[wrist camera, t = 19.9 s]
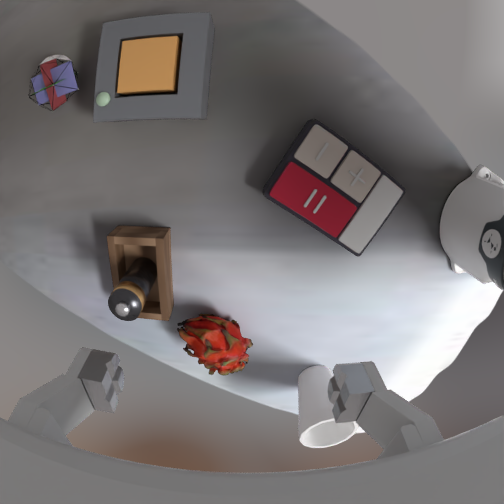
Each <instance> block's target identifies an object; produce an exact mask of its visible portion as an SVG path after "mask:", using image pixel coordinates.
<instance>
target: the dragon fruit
mask: <svg viewBox="0 0 504 504" xmlns="http://www.w3.org/2000/svg"><path fill="white" fill-rule="evenodd" d="M181 325H183V327H185V330H186V331H185V330H184V328H183V327H181V328H180V329H179V328H178V332H179V335H180V337H181V338H182V339H183V340H184V341H186V342H187V345H186V348H183V349H184V351H186V352H187V353H188V355H190V356H192V357H198V358H199V360H198V363H199V364H204V366H205V368H207V369H210V370H209V372H208V373H209V374H210V375H213V374H214V372H215V371H216V370H218V373H219V374H220V375H228V374H229V373H234V372H238V371H242V369H244V367H245V364H244V362H243V361H246V363H248V357H249V355H248V354H246V353H245V352H246V350H247V349H248V348H250V347H251V346H252V345H253V343H252V342H251V339H247V338H243V337H242V336H241V333H240V327H239V325H238V323H237V322H236V321H235V320H232V321H226V320H224V319H222V318H220V317H217V316H214V315H212V314H200V315H199V317H197V318H192V319H187V320H185V321H183V322H182V323H178V326H181ZM176 330H177V329H176ZM247 347H248V348H247ZM188 349H191V350H193V351H194V354H192V353H191V351H190V350H188Z"/></svg>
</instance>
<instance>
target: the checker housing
mask: <svg viewBox="0 0 504 504" xmlns="http://www.w3.org/2000/svg"><path fill="white" fill-rule="evenodd" d="M214 31H215V28H214V24H213V21H212V17H211V13H210V12H202V13H176V14H163V15H152V16H144V17H136V18H129V19H122V20H116V21H111V22H106V23H103V27H102V33H101V40H100V46H99V54H98V62H97V72H96V82H95V96H94V115H93V122H116V121H132V120H156V119H207V109H208V96H209V83H210V71H211V60H212V50H213V40H214ZM170 36H178V37H179V39H180V40H181V42H182V51H181V60H180V71H179V82H178V93H151V94H135V95H124V94H120V93H117V90H118V78H119V67H120V58H121V50H122V42H123V41H128V40H136V39H145V38H156V37H170Z"/></svg>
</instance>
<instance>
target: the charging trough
mask: <svg viewBox="0 0 504 504" xmlns="http://www.w3.org/2000/svg"><path fill="white" fill-rule="evenodd" d="M107 242H108V251H109V259H110V266H111V274H112V280H113V287H114V288H115V287H116V286H117V284H118V283H119V282H120V280H121V279H122V277H123V276H124V274H125V273H126V271H127V270H128V268H129V267H130V266H131V264H132V263H133V261H134V260H135V259H137V258H140V257H146V258H149V259H151V260H152V261H153V262H154V263H155V264H156V266H157V275H158V276H157V278H156V280H155V283H154V285H153V287H152V289H151V291H150V293H149V295H148V297H147V299H146V302H145V305H144V307H143V309H142V311H141V313H140V314H139V316H138V317H137V318H144V319H155V320H166V321H169V318H170V315H171V312H172V309H173V306H174V301H173V285H172V265H171V237H170V228H165V227H141V226H117V227H116V228H115V229H114V230H113V231H112V232H111V233H110V234H109V235H108V236H107Z"/></svg>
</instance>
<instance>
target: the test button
mask: <svg viewBox="0 0 504 504" xmlns="http://www.w3.org/2000/svg"><path fill="white" fill-rule="evenodd" d="M181 51H182V42H181V40H180V39H179V37H178V36H170V37H156V38H145V39H136V40H128V41H123V42H122V50H121V58H120V67H119V78H118V90H117V93H120V94H124V95H135V94H151V93H178V82H179V71H180V60H181Z"/></svg>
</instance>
